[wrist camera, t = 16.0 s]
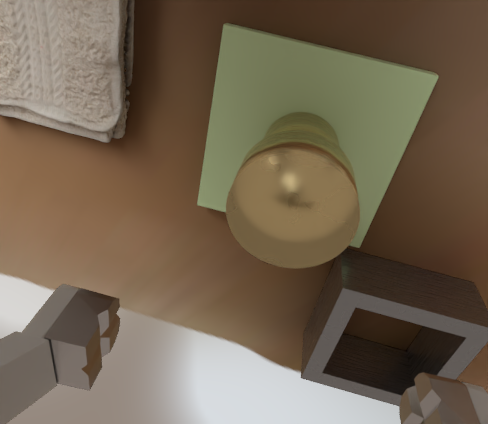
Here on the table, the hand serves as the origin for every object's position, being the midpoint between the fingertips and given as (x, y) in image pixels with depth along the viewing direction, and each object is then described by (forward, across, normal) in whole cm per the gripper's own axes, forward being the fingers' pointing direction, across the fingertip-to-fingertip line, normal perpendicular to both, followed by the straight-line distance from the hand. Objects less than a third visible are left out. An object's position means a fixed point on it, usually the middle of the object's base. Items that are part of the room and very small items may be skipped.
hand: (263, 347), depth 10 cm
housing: (+16, -11, +13) cm, 23 cm away
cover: (+16, -1, +1) cm, 16 cm away
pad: (+17, -1, +1) cm, 17 cm away
